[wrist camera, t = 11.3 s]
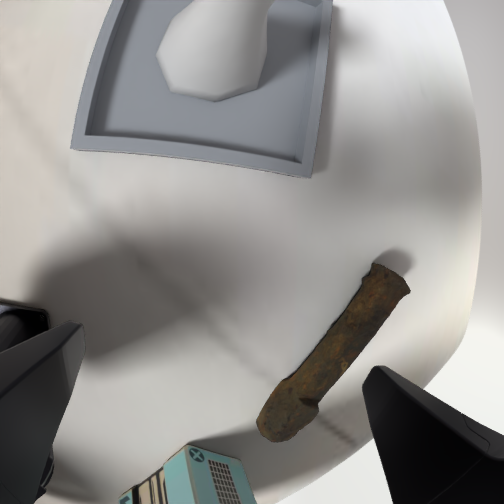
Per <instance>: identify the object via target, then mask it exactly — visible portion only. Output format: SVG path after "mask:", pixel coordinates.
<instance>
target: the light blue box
mask: <svg viewBox="0 0 504 504" xmlns="http://www.w3.org/2000/svg"><path fill="white" fill-rule="evenodd" d="M119 504H257V503H256V500H255V498H254V495H253V493H252V490H251V487H250V485H249V482H248V479H247V477H246V474H245V471H244V469H243V466H242V463H241V460H239V459H235V458H231V457H227V456H224V455H220V454H217V453H213V452H210V451H207V450H204V449H200V448H197V447H194V446H191V445H186V446H184V447H183V448H182V449H181V450H180V451H178V452H177V453H176V454H175V455H174V456H172V457H171V458H170V459H169V460H168V461H166V462H165V463H164V464H163V466H162V467H161V468H160V469H159V470H157V471H156V472H155V473H154V474H152V475H151V476H150V477H148V478H147V479H146V480H144V481H143V482H142V483H140V484H139V485H138V486H136V487H133V488H132V489H130V490H129V491H127V492H126V493H125V494H123V495H122V496H120V497H119Z"/></svg>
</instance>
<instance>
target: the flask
mask: <svg viewBox="0 0 504 504" xmlns="http://www.w3.org/2000/svg"><path fill="white" fill-rule="evenodd" d="M274 1H275V0H194V1H193V2H192V3H191V4H189V5H188V6H187V7H186V8H185V9H183V10H182V11H181V12H180V13H178V14H177V15H176V16H175V17H174V18H173V19H172V20H171V21H170V23H169V25H168V27H167V29H166V31H165V34H164V36H163V38H162V41H161V43H160V45H159V48H158V50H157V53H156V58H157V60H158V63H159V65H160V68H161V70H162V73H163V75H164V78H165V80H166V82H167V85H168V87H169V90H170V92H173V93H178V94H183V95H187V96H191V97H196V98H200V99H204V100H208V101H212V102H218V101H221V100H223V99H226V98H229V97H232V96H235V95H239V94H242V93H245V92H248V91H251V90H255V89H257V86H258V82H259V79H260V76H261V72H262V69H263V66H264V62H265V59H266V56H267V12H268V9H269V7H270V6H271V5H272V3H273V2H274Z"/></svg>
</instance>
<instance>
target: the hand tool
mask: <svg viewBox="0 0 504 504" xmlns="http://www.w3.org/2000/svg"><path fill="white" fill-rule="evenodd" d="M410 291H411V290H410V288H409V287H408V285H407V284H406V281H405V280H404V278H403V277H401V276H399V275H398V274H396V273H395V272H394V271H392V270H390V269H388V268H386V267H385V266H382V265H380V264H375V263H372V264H371V273H370V275H369V276H366V277H364V278H363V279H362V287H361V289H360V290H359V292H358V293H357V295H356V296H355V297H354V299H353V300H352V301H351V303H350V304H349V306H348V307H347V309H346V310H345V312H344V313H343V314H342V316H341V317H340V318H339V320H338V321H337V322H336V324H335V325H334V326H333V327H332V328H331V329H329V330H328V331H327V335H326V337H325V338H324V339H323V340H322V341H321V342H320V343H319V344H318V345H317V347H316V349H315V350H314V351H313V353H312V354H311V355H310V356H309V357H308V358H307V360H306V361H305V362H304V363H303V364H302V366H301V367H300V368H299V369H298V370H297V372H296V373H295V374H294V375H293V376H292V377H291V378H286V379H283V380H282V381H281V382H280V383H279V384H278V386H277V387H276V388H275V389H274V391H273V392H272V394H271V395H270V397H269V398H268V400H267V401H266V403H265V405H264V406H263V408H262V410H261V412H260V414H259V416H258V418H257V421H256V423H257V427H258V429H259V431H260V433H261V434H262V436H264V437H266V438H267V439H268V440H270V441H271V442H282V441H286V440H287V441H288V440H289V439H291V438H292V437H293V436H295V435H296V434H297V432H298V431H299V430H301V429H302V428H304V426H306V425H307V424H309V423H310V422H311V421H312V420H313V419H314V418H315V417H316V415H317V414H318V412H319V408H318V403H319V402H320V401H321V399H322V398H323V397H324V395H325V394H326V393H327V392H328V391H329V389H330V388H331V387H332V386H333V385H334V384H335V383H336V382H337V381H338V379H339V378H340V377H341V376H342V375H343V374H344V372H345V371H346V370H347V369H348V368H349V367H350V365H351V364H352V363H353V362H354V360H355V359H356V358H357V357H358V356H359V354H360V353H361V352H362V350H363V349H364V348H365V346H366V345H367V344H368V343H369V342H370V340H371V339H372V338H373V337H374V336H375V334H376V333H377V331H378V330H379V328H380V327H381V326H382V325H383V323H384V322H385V320H386V319H387V318H388V317H389V316H390V314H391V312H392V311H393V310H394V308H395V307H396V305H397V304H398V302H399V301H400V300H401V299H402V298H403V297H404V296H406V295H407V294H409V293H410Z"/></svg>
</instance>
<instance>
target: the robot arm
mask: <svg viewBox="0 0 504 504" xmlns="http://www.w3.org/2000/svg"><path fill="white" fill-rule="evenodd" d="M41 315H43V316H44V318H42V317H41ZM84 353H85V339H84V327H83V325H82V324H81V323H78V322H74V321H67V322H65V323H63V324H61V325H59V326H57V327H54V328H52V329H51V328H50V322H49V315H48V313H47V312H46V311H45V310H43V309H36V308H30V307H24V306H18V305H12V304H6V303H1V302H0V504H34V503H35V501H36V500H37V499H38V498H40V497H41V496H42V495H43V494H45V492H46V488H45V486H46V485H47V484H48V483H49V481H50V479H51V477H52V474H53V470H54V458H53V448H52V444H53V441H54V438H55V436H56V433H57V430H58V428H59V425H60V423H61V420H62V418H63V415H64V413H65V410H66V408H67V405H68V403H69V400H70V398H71V395H72V392H73V389H74V385H75V382H76V378H77V375H78V372H79V369H80V366H81V362H82V359H83V356H84ZM362 391H363V395H364V400H365V404H366V409H367V414H368V418H369V423H370V427H371V430H372V434H373V437H374V440H375V443H376V446H377V450H378V453H379V456H380V459H381V462H382V466H383V470H384V473H385V476H386V480H387V483H388V487H389V490H390V494H391V498H392V501H393V504H504V435H502V434H500V433H498V432H496V431H494V430H492V429H490V428H488V427H486V426H484V425H482V424H480V423H478V422H476V421H475V420H473V419H471V418H469V417H468V416H466V415H464V414H463V413H462V414H461V412H459V411H458V410H456V409H454V408H453V407H451V406H449V405H448V404H446V403H444V402H443V401H441V400H440V399H438V398H436V397H434V396H433V395H431V394H430V393H428V392H426V391H425V390H423V389H422V388H420V387H418V386H417V385H415V384H414V383H412V382H410V381H409V380H407V379H406V378H404V377H402V376H401V375H399V374H398V373H396V372H394V371H393V370H391V369H390V368H388V367H386V366H374V367H373V368H372V369H371V371H370V373H369V374H368V376H367V378H366V379H365V381H364V383H363V386H362Z"/></svg>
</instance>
